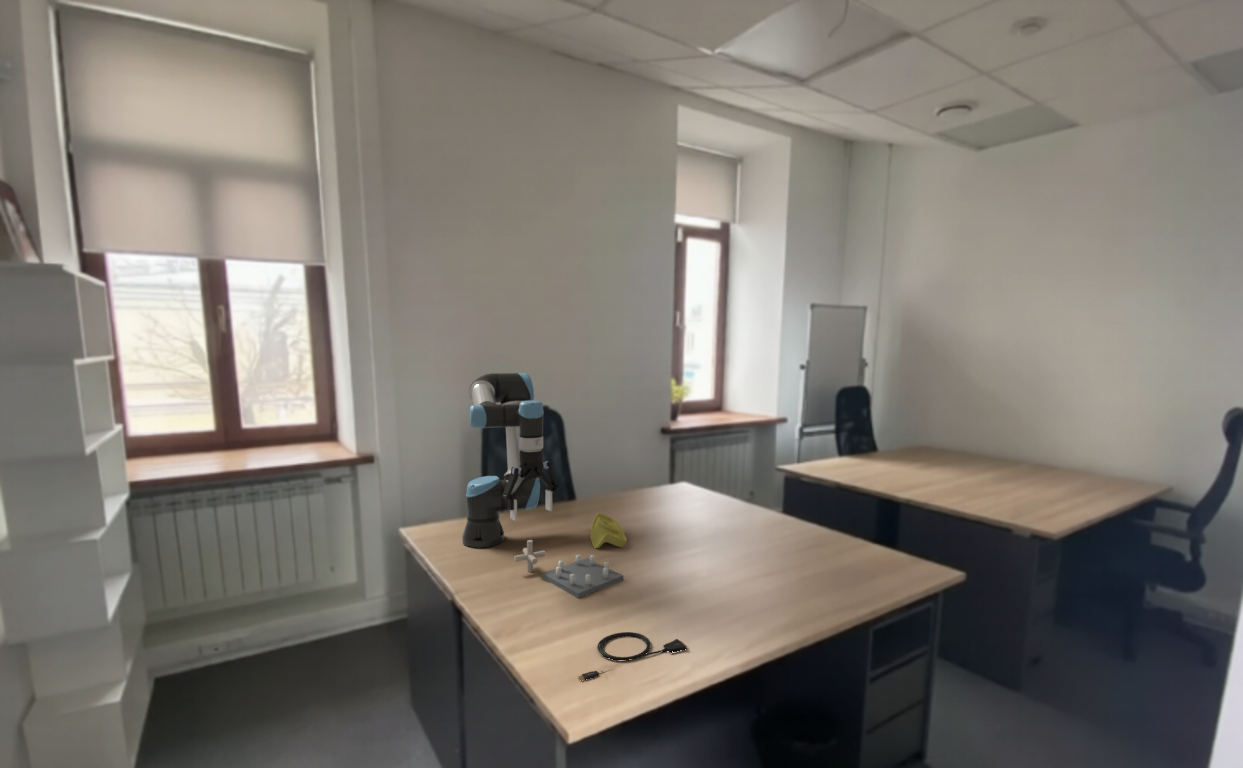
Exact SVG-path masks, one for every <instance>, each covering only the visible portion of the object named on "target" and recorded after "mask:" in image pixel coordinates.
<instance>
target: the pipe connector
mask: <svg viewBox="0 0 1243 768" xmlns="http://www.w3.org/2000/svg"><path fill="white" fill-rule="evenodd" d="M533 542H534V541H533V539H528V540H526V547H523V548H522V553H523V554H518V555H514V556H513V559H514V562H520V561H526V569H527V570H526V571H528V572H527V573H532V572H534V565H536V564H537V563H538V558H543V557H546V551H545V550H539V551H535V552H533V551H534V550H533V549H534V548H533V547H534V546H533V545H534V543H533Z"/></svg>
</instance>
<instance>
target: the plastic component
mask: <svg viewBox="0 0 1243 768" xmlns="http://www.w3.org/2000/svg"><path fill="white" fill-rule="evenodd" d="M627 540H628V539H627V536H626V534H625V533H624V530H623V528H622V526H621V525H620V523H619V522H618V521H617V520H615V519H614V518H612V517H611V516H608V515H606V514H604V513H601V512H598V513H596V514H595V516H594V519H593V522H592V525H591V528H590V541H591V544H592V546H594V547H593V548H594V549H596V548H597V549H596V550H598V549H600V548H601V546H602V545H603V544H604V543H608V544H610V545H613V546H615V547H618V548H624V547H625V544H626V543H627ZM623 546H624V547H623Z"/></svg>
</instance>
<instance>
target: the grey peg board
mask: <svg viewBox="0 0 1243 768" xmlns="http://www.w3.org/2000/svg"><path fill="white" fill-rule="evenodd" d="M581 557H582V556H581V554H575V562H574V561H573V562H572V563H569V564H566V565H564V560H558V566H556V567H555V568H554V569H551V570H548V571H546V572H542V579H543V578H544V579H543V580H545V579H546V580H545V581H547V582H548V583H550V582H551V584H552V585H554V586H555V587H557V586H558V588H559V587H560V588H559V589H561V588H562V589H561V590H563V591H564V590H565V591H564V592H566V591H567V593H568V592H569V593H568V594H570V595H571V594H572V595H571V596H573V595H574V596H573V597H575V598H577V599H580V598H582V596H583V597H586V596H588V595H589V594H593V593H595V592H597V590H598V591H600V590H602V589H604V588H607V587H610V586H612V585H615V584H617V583H620V582H622V581H624V574H622V573H620V572H617V571H615V570H613V569H611V568H610V562H609V561H604V562H603V565H602V564H600V563H598V562H596V556H595V554H592V555H591V554H590V555H589V557H587V558H583V559H581ZM619 581H620V582H619ZM609 585H610V586H609ZM599 589H600V590H599ZM594 591H595V592H594ZM592 592H593V593H592ZM587 594H588V595H587Z"/></svg>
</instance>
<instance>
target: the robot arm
mask: <svg viewBox="0 0 1243 768" xmlns="http://www.w3.org/2000/svg"><path fill="white" fill-rule="evenodd" d="M468 395H469V398H470V400H471V401H472V403H473V405H470V407H469V426H470V427H471V428H473V429H489V428H505V435H506V436H505V437H506V439H505V442H506V458H507V461H506V463H507V471H506V472H505V473H504V474H503V479H500V477H498V476H497V475H486V476H480V477H476V478H474V479H472V480H470V481H469V482H468V484H467V486H466V494H465V496H466V524H465V526H464V531H463V534H462V537H461V538H462V542H463V543H462V544H463V545H464V546H465V545H466V546H465V547H468V546H470V547H469V548H474V547H477V548H476V549H478V548H481V547H484V548H490V546H491V547H495V546H498V545H500V544H502V543H503V542H504V541H505V530H504V528H503V525H502V523H501V519H500V513H503V512H509V518H510V520H513V521H514V522H515V521H518V511H527V510H534V509H535V508H536V507H538V504H539V499H540V493H541V492H540V490H541V483H542V484H543V485H544V486H545V487H546V488H547V489H545V510H547V511H549V512H553V501H554V499H555V492H556V490H557V489H558V488H559V487H560V484H559V482H558V479H557V478H556V476H555V473H554V471H553V468H552V463H551V461H548V460H544V450H543V449H544V414H545V412H544V403H543V402H542V401H541V400H535V394H534V386H533V382H532V378H531V375H530V374H528V373H523V372H512V373H510V372H508V373H507V372H506V373H505V372H504V373H503V372H501V373H500V372H499V373H497V372H496V373H495V372H494V373H491V372H490V373H486V374H483V375H481V376H479V377H477V378H476V379H474V380H473V381H472V382H471V384H470V385H469V389H468ZM498 403H499V404H498ZM543 469H544V471H545V473H544V472H543ZM545 475H546V476H545ZM481 549H482V548H481Z"/></svg>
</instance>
